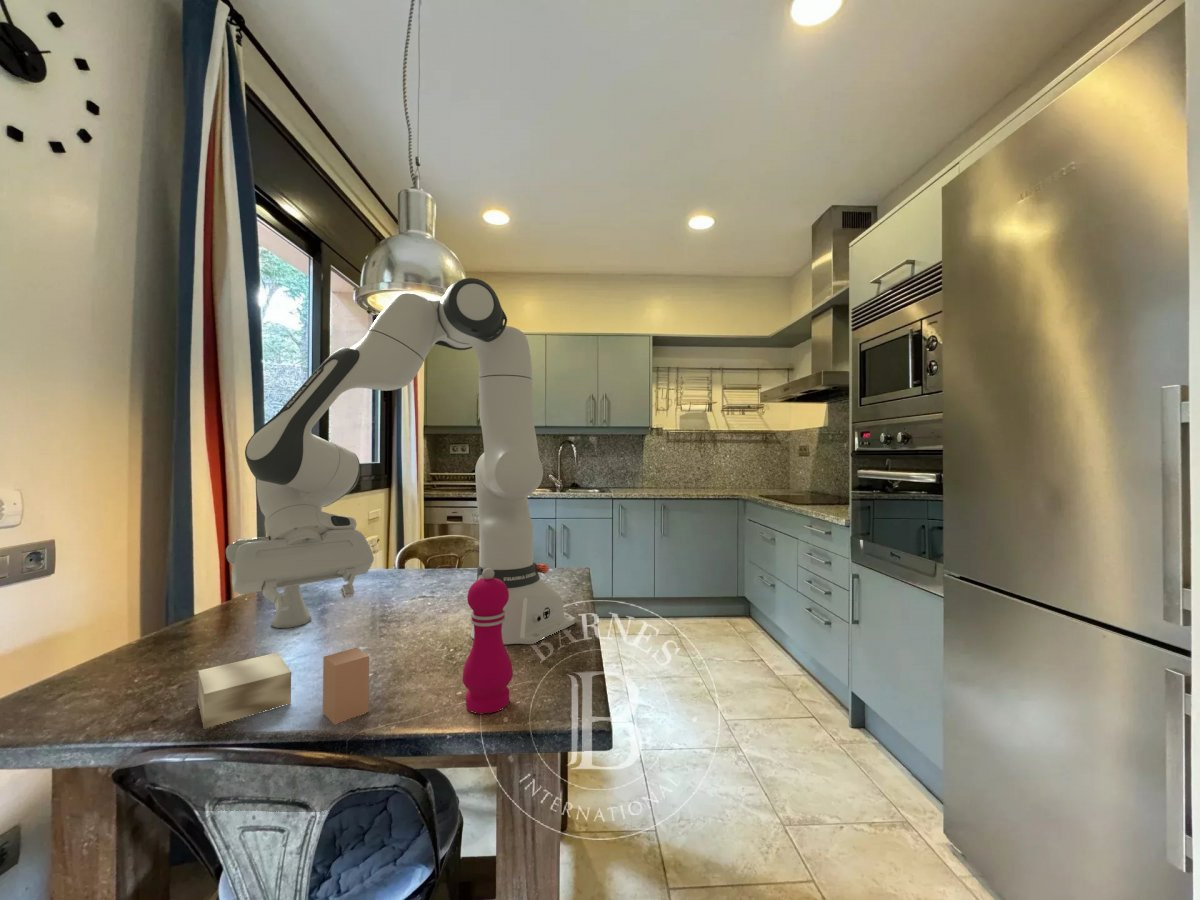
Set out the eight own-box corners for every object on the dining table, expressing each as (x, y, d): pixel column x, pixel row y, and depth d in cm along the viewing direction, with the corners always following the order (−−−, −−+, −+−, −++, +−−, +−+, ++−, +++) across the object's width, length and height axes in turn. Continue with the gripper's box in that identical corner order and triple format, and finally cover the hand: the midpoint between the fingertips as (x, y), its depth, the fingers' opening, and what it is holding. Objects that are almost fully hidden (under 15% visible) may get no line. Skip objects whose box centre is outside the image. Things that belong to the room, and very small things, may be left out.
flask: (292, 630, 103) (292, 582, 104) (263, 628, 105) (264, 581, 105) (318, 619, 110) (318, 575, 111) (291, 617, 112) (291, 573, 112)
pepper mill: (467, 693, 75) (468, 563, 76) (515, 691, 76) (515, 562, 76) (457, 717, 68) (458, 573, 69) (509, 715, 69) (510, 573, 69)
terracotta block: (355, 701, 73) (356, 647, 73) (368, 712, 70) (369, 655, 70) (322, 713, 69) (323, 656, 70) (334, 724, 66) (335, 665, 67)
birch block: (277, 683, 79) (277, 652, 79) (290, 706, 72) (291, 671, 72) (197, 704, 73) (198, 670, 73) (203, 731, 65) (204, 694, 65)
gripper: (227, 528, 75) (242, 605, 68) (363, 517, 90) (387, 579, 84) (220, 554, 78) (233, 629, 71) (353, 538, 93) (375, 600, 87)
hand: (317, 602), depth 78 cm, fingers open, 8 cm apart
